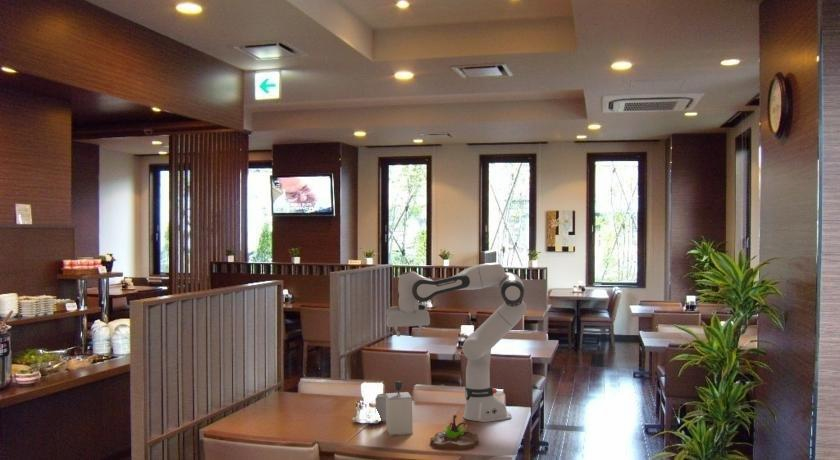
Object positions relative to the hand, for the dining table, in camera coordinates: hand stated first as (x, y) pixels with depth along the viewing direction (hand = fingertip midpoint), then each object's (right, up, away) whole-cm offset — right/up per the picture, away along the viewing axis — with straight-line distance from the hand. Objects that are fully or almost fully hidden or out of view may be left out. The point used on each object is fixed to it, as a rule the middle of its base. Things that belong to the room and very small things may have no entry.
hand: (408, 335), depth 319 cm
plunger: (-4, -39, -19) cm, 44 cm away
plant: (+20, -39, -36) cm, 57 cm away
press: (-4, -39, -19) cm, 44 cm away
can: (-11, -40, 0) cm, 41 cm away
